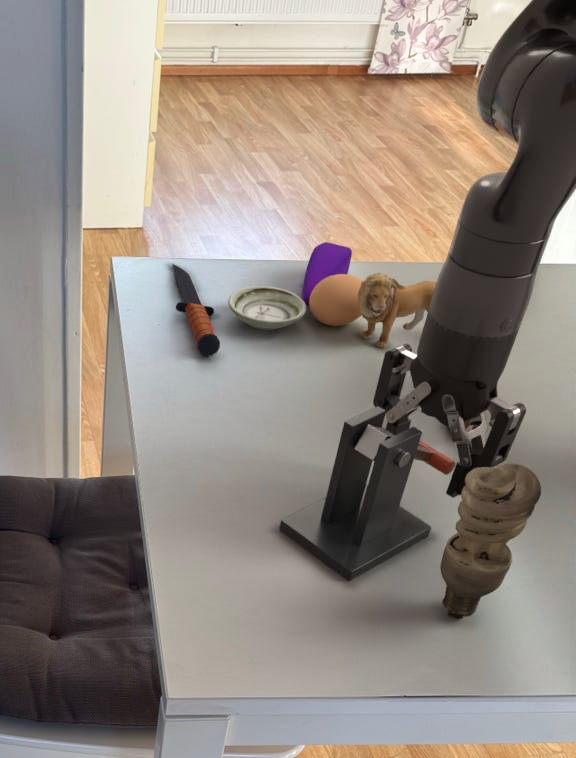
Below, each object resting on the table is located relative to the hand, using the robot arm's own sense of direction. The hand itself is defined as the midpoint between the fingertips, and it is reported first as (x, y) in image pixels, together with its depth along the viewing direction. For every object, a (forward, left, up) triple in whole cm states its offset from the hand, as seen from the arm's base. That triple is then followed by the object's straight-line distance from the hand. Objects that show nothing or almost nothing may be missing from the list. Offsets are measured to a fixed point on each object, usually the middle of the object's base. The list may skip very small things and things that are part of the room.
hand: (422, 473), depth 91 cm
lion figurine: (-24, -23, -3) cm, 33 cm away
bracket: (+9, 0, -3) cm, 9 cm away
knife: (-11, -42, -3) cm, 43 cm away
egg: (-17, -32, 0) cm, 36 cm away
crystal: (-18, -33, -1) cm, 38 cm away
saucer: (-13, -35, -3) cm, 38 cm away
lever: (+5, 0, +4) cm, 6 cm away
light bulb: (+10, +13, -3) cm, 16 cm away
